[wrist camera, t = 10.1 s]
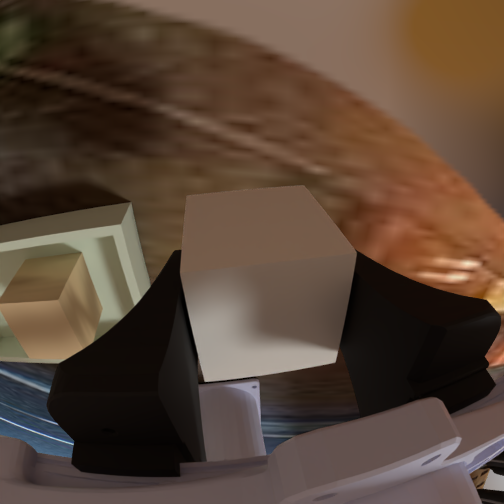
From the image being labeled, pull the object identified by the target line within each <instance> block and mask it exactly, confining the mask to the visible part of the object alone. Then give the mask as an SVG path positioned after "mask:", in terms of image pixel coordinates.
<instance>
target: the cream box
mask: <svg viewBox="0 0 504 504" xmlns="http://www.w3.org/2000/svg"><path fill="white" fill-rule="evenodd" d="M356 256H357V252H356V251H355V249H354V248H353V247H352V245H351V244H350V243H349V242H348V240H347V239H346V238H345V236H344V235H343V234H342V232H341V231H340V230H339V228H338V227H337V226H336V225H335V223H334V222H333V221H332V220H331V218H330V217H329V216H328V214H327V213H326V212H325V211H324V209H323V208H322V207H321V206H320V204H319V203H318V202H317V201H316V200H315V198H314V197H313V196H312V195H311V193H310V192H309V191H308V190H307V189H306V187H305V186H304V185H301V186H286V187H273V188H260V189H248V190H237V191H227V192H217V193H207V194H198V195H189V196H187V199H186V209H185V219H184V229H183V240H182V252H181V265H180V276H181V281H182V285H183V290H184V295H185V300H186V304H187V309H188V314H189V318H190V323H191V327H192V331H193V336H194V340H195V344H196V348H197V352H198V357H199V361H200V365H201V369H202V372H203V376H204V380H205V382H210V381H220V380H229V379H238V378H246V377H253V376H261V375H268V374H274V373H281V372H287V371H293V370H299V369H304V368H310V367H315V366H320V365H325V364H330V363H335V362H336V358H337V354H338V349H339V345H340V341H341V336H342V331H343V327H344V322H345V317H346V312H347V307H348V302H349V297H350V291H351V286H352V280H353V274H354V268H355V262H356Z"/></svg>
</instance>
